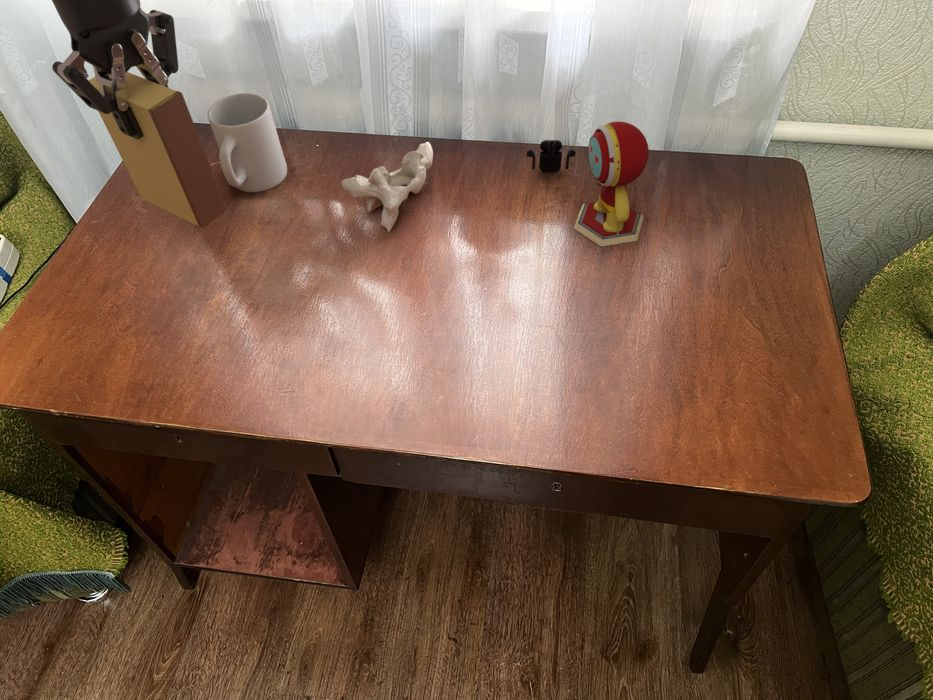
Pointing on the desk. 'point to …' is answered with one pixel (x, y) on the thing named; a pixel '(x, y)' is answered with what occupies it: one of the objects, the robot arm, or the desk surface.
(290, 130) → the desk surface
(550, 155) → the wireless earbuds
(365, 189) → the decorative object
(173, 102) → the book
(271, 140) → the mug
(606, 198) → the figurine
